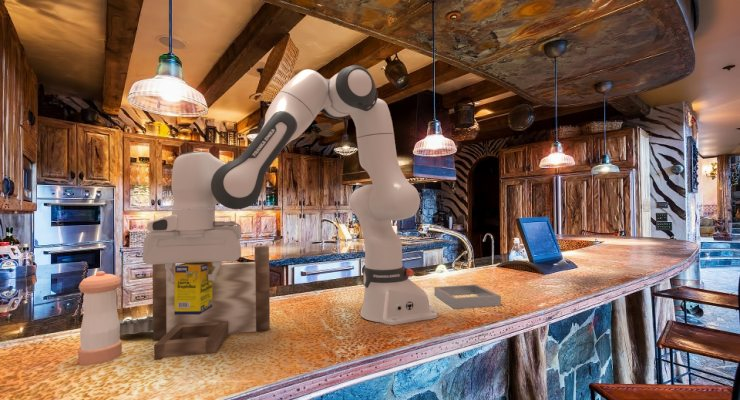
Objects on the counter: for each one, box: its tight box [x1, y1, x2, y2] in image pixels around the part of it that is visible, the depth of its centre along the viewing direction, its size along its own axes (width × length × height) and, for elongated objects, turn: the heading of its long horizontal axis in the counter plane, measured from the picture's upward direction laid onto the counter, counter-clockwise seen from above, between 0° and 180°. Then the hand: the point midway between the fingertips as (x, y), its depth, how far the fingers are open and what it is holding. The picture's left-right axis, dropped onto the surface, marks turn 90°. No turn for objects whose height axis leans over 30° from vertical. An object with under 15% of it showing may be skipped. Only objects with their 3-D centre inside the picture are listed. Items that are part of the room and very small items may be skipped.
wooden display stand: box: [151, 245, 271, 361], centre depth 80 cm, size 28×16×22 cm, turn 101°
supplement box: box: [174, 262, 212, 315], centre depth 77 cm, size 6×6×11 cm
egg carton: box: [119, 315, 153, 336], centre depth 86 cm, size 11×8×4 cm
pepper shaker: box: [77, 270, 123, 366], centre depth 72 cm, size 7×7×19 cm
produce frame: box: [433, 284, 502, 310], centre depth 113 cm, size 16×16×3 cm
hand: (194, 282), depth 78 cm, fingers closed on supplement box, 6 cm apart
